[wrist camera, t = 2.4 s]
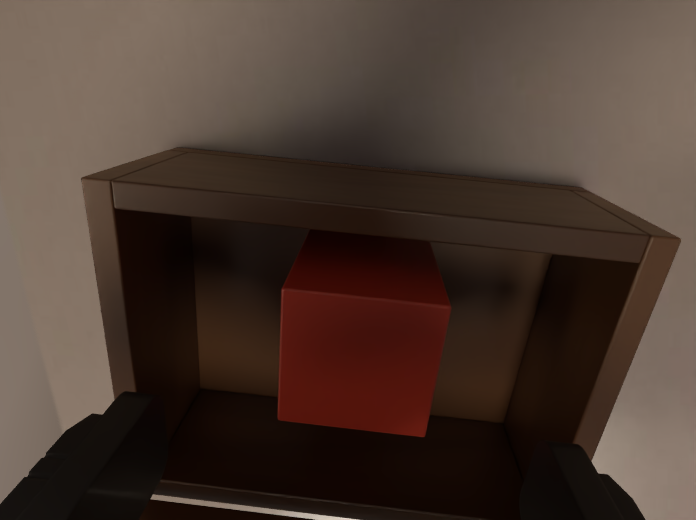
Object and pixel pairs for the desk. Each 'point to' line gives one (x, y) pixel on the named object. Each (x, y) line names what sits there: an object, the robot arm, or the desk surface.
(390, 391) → the matte red cuboid
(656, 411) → the desk surface
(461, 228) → the chest
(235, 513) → the lid
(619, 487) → the robot arm
